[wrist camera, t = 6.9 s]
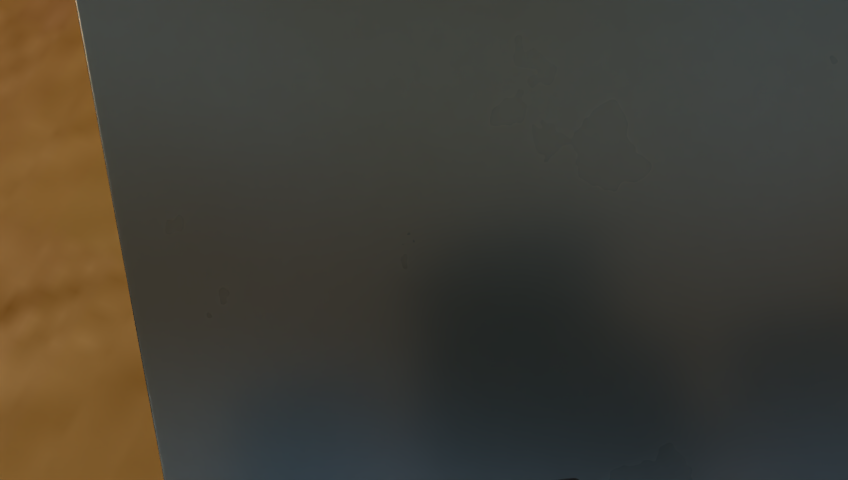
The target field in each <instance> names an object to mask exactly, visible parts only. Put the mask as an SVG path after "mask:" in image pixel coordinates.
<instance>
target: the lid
mask: <svg viewBox="0 0 848 480" xmlns="http://www.w3.org/2000/svg"><path fill="white" fill-rule="evenodd" d="M75 2H76V7H77V13H78V18H79V23H80V29H81V34H82V40H83V45H84V50H85V56H86V61H87V67H88V72H89V77H90V83H91V88H92V94H93V99H94V104H95V110H96V115H97V121H98V126H99V131H100V137H101V142H102V147H103V153H104V158H105V164H106V169H107V174H108V180H109V185H110V191H111V196H112V201H113V207H114V212H115V218H116V223H117V228H118V234H119V239H120V245H121V250H122V255H123V261H124V266H125V272H126V277H127V282H128V288H129V293H130V298H131V304H132V309H133V315H134V320H135V325H136V331H137V336H138V342H139V347H140V352H141V358H142V363H143V369H144V374H145V379H146V385H147V390H148V396H149V401H150V406H151V412H152V417H153V423H154V428H155V433H156V439H157V444H158V450H159V455H160V460H161V466H162V471H163V476H164V480H559V479H567V478H577V479H579V480H848V0H75Z"/></svg>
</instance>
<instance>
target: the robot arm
mask: <svg viewBox="0 0 848 480" xmlns="http://www.w3.org/2000/svg"><path fill="white" fill-rule="evenodd" d="M559 480H579V479H577V478H567V479H559Z"/></svg>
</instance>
